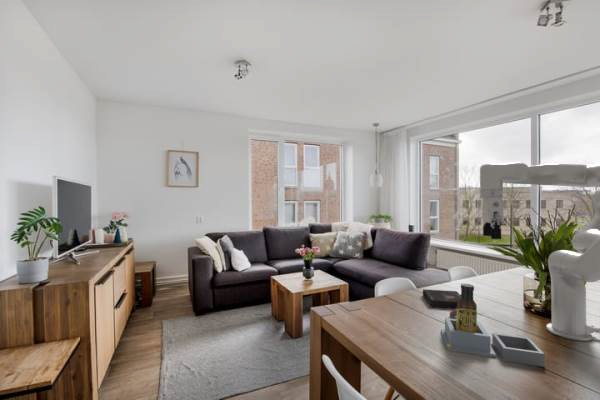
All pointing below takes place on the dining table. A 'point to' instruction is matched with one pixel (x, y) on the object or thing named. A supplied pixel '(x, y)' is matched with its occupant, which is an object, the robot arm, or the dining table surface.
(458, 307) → the sauce bottle
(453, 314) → the video game controller
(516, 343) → the grey square frame
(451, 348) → the socket dock
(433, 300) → the portable cd player
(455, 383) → the dining table surface
